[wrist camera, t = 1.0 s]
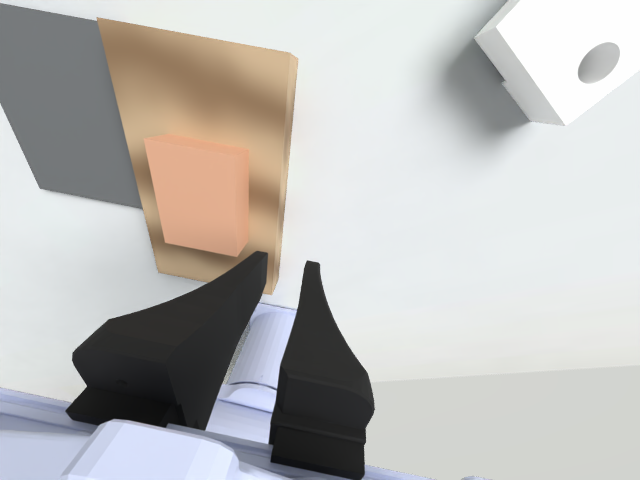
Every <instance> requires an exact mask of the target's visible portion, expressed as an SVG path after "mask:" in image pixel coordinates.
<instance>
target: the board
mask: <svg viewBox="0 0 640 480" xmlns="http://www.w3.org/2000/svg"><path fill="white" fill-rule="evenodd" d="M97 21H98V26H99V30H100V34H101V38H102V42H103V46H104V50H105V54H106V59H107V63H108V67H109V71H110V75H111V79H112V83H113V87H114V92H115V96H116V100H117V104H118V108H119V112H120V116H121V120H122V124H123V129H124V133H125V137H126V141H127V145H128V149H129V153H130V157H131V162H132V166H133V170H134V174H135V178H136V182H137V186H138V190H139V195H140V199H141V203H142V207H143V211H144V215H145V219H146V223H147V227H148V232H149V236H150V240H151V244H152V248H153V252H154V256H155V260H156V265H157V269H158V272H159V273H164V274H169V275H174V276H179V277H184V278H189V279H194V280H199V281H204V282H211V281H213V280H214V279H216V278H217V277H219V276H221V275H222V274H224V273H226V272H227V271H229V270H230V269H231V268H233V267H234V266H236V265H237V264H239V263H240V262H241V261H243V260H244V259H246V258H247V257H248V256H250V255H251V254H252V253H254V252H255V251H262V252H267V253H268V264H267V282H266V285H265V288H264V291H263V294H268V295H272V294H273V291H274V289H275V286H276V284H277V281H278V277H279V266H280V255H281V244H282V233H283V221H284V210H285V199H286V188H287V177H288V166H289V155H290V143H291V132H292V121H293V110H294V99H295V88H296V77H297V65H298V58H296V57H295V56H294V55H292V54H291V53H288V52H283V51H277V50H272V49H266V48H261V47H255V46H250V45H245V44H239V43H234V42H228V41H223V40H217V39H212V38H207V37H201V36H196V35H190V34H185V33H179V32H174V31H168V30H163V29H158V28H152V27H147V26H141V25H136V24H130V23H125V22H120V21H114V20H109V19H103V18H98V17H97ZM165 134H173V135H178V136H183V137H188V138H193V139H199V140H204V141H209V142H214V143H220V144H225V145H230V146H235V147H241V148H246V149H249V214H248V243H247V244H246V245H245V247H244V248H243V249H242V251H241V252H240V254H239V255H238V256H237V257H234V256H229V255H224V254H219V253H214V252H209V251H204V250H199V249H194V248H189V247H184V246H179V245H174V244H169V243H165V240H164V235H163V230H162V225H161V220H160V216H159V211H158V206H157V201H156V196H155V191H154V187H153V182H152V177H151V172H150V167H149V162H148V158H147V153H146V148H145V143H144V138H149V137H154V136H160V135H165Z"/></svg>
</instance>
